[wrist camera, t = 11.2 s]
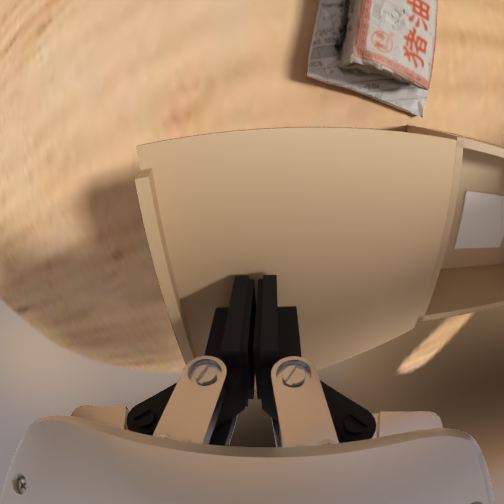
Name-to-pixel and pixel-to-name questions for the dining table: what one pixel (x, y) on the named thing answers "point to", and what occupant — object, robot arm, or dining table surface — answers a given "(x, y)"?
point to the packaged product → (376, 49)
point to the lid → (298, 228)
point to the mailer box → (469, 233)
